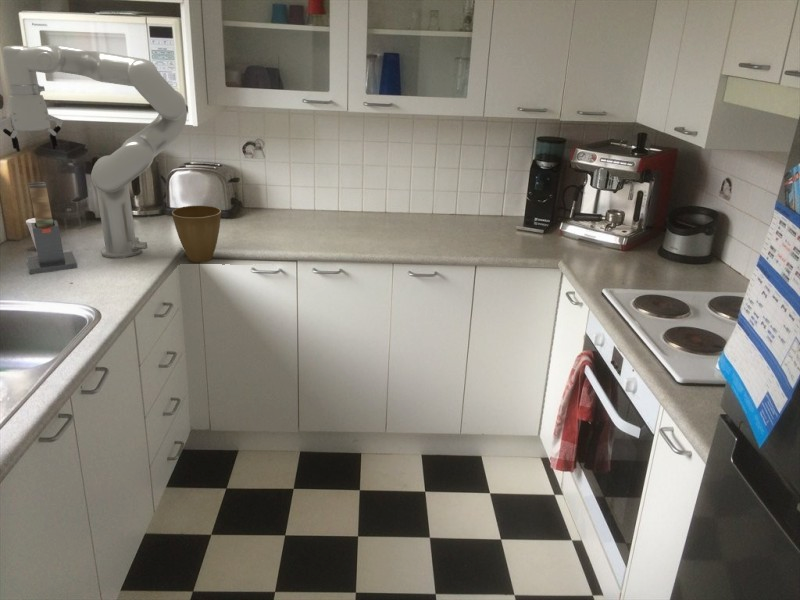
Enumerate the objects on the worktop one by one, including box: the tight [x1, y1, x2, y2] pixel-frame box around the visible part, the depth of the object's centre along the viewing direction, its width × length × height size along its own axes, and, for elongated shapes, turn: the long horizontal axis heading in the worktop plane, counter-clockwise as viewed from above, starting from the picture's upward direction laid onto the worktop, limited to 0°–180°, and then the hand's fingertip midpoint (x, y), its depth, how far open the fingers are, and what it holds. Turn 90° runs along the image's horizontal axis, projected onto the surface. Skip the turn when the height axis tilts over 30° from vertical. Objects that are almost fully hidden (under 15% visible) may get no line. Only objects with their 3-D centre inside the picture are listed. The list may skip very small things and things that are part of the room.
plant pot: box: [171, 205, 222, 263], centre depth 211 cm, size 15×15×16 cm
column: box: [28, 181, 54, 227], centre depth 199 cm, size 4×4×18 cm
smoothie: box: [25, 217, 36, 249], centre depth 217 cm, size 6×6×14 cm
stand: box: [26, 219, 78, 275], centre depth 203 cm, size 13×13×13 cm
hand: (36, 149), depth 199 cm, fingers open, 9 cm apart
